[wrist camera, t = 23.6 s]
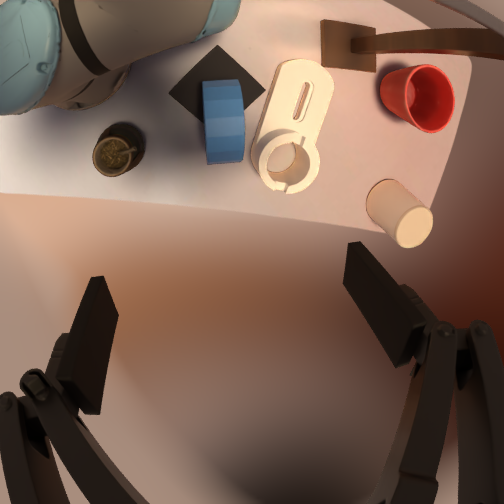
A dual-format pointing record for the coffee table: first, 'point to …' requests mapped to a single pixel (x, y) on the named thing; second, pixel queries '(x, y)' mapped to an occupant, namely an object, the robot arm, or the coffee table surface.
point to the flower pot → (419, 96)
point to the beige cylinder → (399, 213)
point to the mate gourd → (118, 150)
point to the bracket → (293, 123)
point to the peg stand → (411, 40)
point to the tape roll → (223, 121)
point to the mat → (213, 69)
